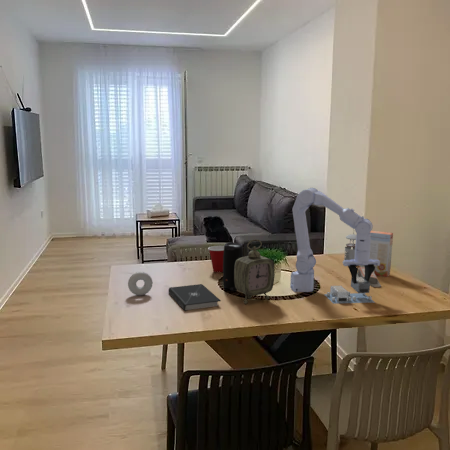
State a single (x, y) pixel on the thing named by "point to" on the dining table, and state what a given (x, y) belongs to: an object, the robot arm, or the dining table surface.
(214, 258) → the plastic cup
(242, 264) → the tabletop clock
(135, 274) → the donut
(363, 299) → the drive tray
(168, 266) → the dining table surface
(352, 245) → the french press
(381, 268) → the cracker box
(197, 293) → the book
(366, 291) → the loose drive
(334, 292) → the seated drive
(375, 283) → the packaged product
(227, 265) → the portable speaker
